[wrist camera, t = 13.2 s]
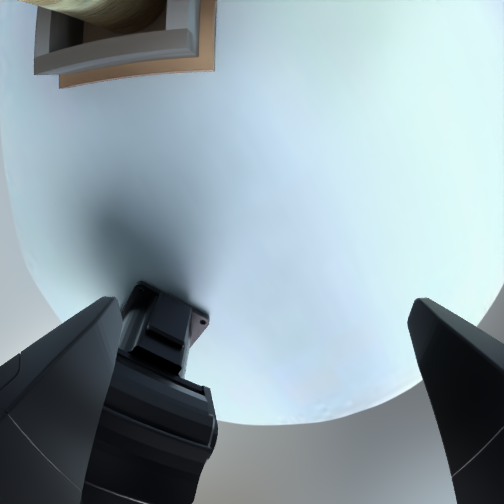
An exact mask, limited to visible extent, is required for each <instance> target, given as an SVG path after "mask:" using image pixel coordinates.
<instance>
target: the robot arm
mask: <svg viewBox="0 0 504 504" xmlns="http://www.w3.org/2000/svg"><path fill="white" fill-rule="evenodd" d="M140 287H143V288H144V289H140ZM201 320H205V322H203V321H201ZM209 321H210V320H209V317H208V316H207V315H205V314H203V313H201V312H199V311H197V310H195V309H193V308H191V307H190V306H188V305H186V304H184V303H182V302H180V301H179V300H177V299H175V298H173V297H171V296H169V295H167V294H166V293H163V292H162V291H160V290H158V289H156V288H154V287H152V286H151V285H149V284H147V283H145V282H143V281H139V282H138V283H137V284H136V286H135V287H134V289H133V291H132V293H131V295H130V297H129V299H128V301H127V302H126V304H125V306H124V308H123V310H122V312H120V308H119V304H118V300H117V299H116V298H115V297H106V296H104V297H102V298H100V299H98V300H97V301H95V302H94V303H92V304H91V305H89V306H88V307H86V308H85V309H83V310H82V311H80V312H79V313H77V314H76V315H74V316H73V317H71V318H70V319H68V320H67V321H65V322H64V323H62V324H61V325H59V326H58V327H56V328H55V329H53V330H52V331H51V332H49V333H48V334H46V335H45V336H43V337H42V338H40V339H39V340H37V341H36V342H35V343H33V344H32V345H30V346H29V347H27V348H26V349H25V350H23V351H22V352H21V354H17V355H16V356H15V357H13V358H12V359H10V360H9V361H7V362H6V363H4V364H3V365H2V366H0V504H192V503H193V501H194V498H195V493H196V489H197V484H198V481H199V477H200V474H201V472H202V469H203V467H204V464H205V463H206V462H207V460H208V459H209V458H210V456H211V454H212V452H213V450H214V447H215V444H216V440H217V435H218V425H217V420H216V415H215V410H214V406H213V401H212V396H211V391H210V388H208V387H205V386H200V385H197V384H195V383H192V382H190V381H188V380H185V379H184V377H185V371H186V365H187V359H188V353H189V348H190V347H191V346H192V345H193V344H194V342H195V341H196V340H197V339H198V337H199V336H200V335H201V334H202V332H203V331H204V330H205V329H206V327H207V326H208V325H209ZM407 324H408V329H409V333H410V336H411V340H412V344H413V348H414V352H415V356H416V360H417V363H418V367H419V370H420V373H421V375H422V378H423V381H424V384H425V387H426V390H427V392H428V396H429V399H430V402H431V405H432V408H433V411H434V415H435V418H436V421H437V424H438V428H439V431H440V434H441V438H442V442H443V445H444V449H445V453H446V456H447V460H448V464H449V468H450V473H451V476H452V482H453V486H454V491H455V495H456V500H457V504H504V344H503V343H501V342H500V341H498V340H497V339H495V338H494V337H492V336H490V335H489V334H487V333H486V332H484V331H482V330H481V329H479V328H477V327H476V326H474V325H473V324H471V323H469V322H468V321H466V320H464V319H463V318H461V317H459V316H458V315H456V314H454V313H453V312H451V311H449V310H448V309H446V308H444V307H443V306H441V305H439V304H437V303H436V302H434V301H432V300H431V299H429V298H417V299H416V300H415V301H414V303H413V306H412V309H411V312H410V315H409V317H408V322H407Z"/></svg>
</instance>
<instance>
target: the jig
mask: <svg viewBox="0 0 504 504" xmlns="http://www.w3.org/2000/svg"><path fill="white" fill-rule="evenodd" d="M216 7H217V0H167V1H166V4H165V7H164V9H163V11H162V13H161V14H160V15H159V17H158V18H157V19H156V20H155V21H154V22H153V23H151V24H150V25H149V26H147V27H146V28H144V29H142V30H140V31H137V32H134V33H129V34H118V33H114V32H112V31H109V30H107V29H104V28H102V27H99V26H96V25H94V24H91V23H88V22H86V21H83V20H80V19H77V18H75V17H72V16H69V15H66V14H63V13H60V12H57V11H54V10H50V9H47V8H44V7H41V6H38V10H37V20H36V32H35V50H34V75H55V74H59V89H60V88H70V87H75V86H80V85H85V84H90V83H96V82H102V81H108V80H115V79H122V78H129V77H137V76H146V75H157V74H168V73H183V72H206V71H215V34H216Z"/></svg>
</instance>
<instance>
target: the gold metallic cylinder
mask: <svg viewBox="0 0 504 504" xmlns="http://www.w3.org/2000/svg"><path fill="white" fill-rule="evenodd" d="M19 1H23V2H26V3H30V4H34V5H37V6H41V7H44V8H47V9H50V10H54V11H57V12H60V13H63V14H66V15H69V16H72V17H75V18H77V19H80V20H83V21H86V22H88V23H91V24H94V25H96V26H99V27H102V28H104V29H107V30H109V31H112V32H114V33H118V34H129V33H134V32H137V31H140V30H142V29H144V28H146V27H147V26H149V25H150V24H151V23H153V22H154V21H155V20H156V19H157V18H158V17H159V15H160V14H161V13H162V11H163V9H164V7H165V4H166V1H167V0H19Z"/></svg>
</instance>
